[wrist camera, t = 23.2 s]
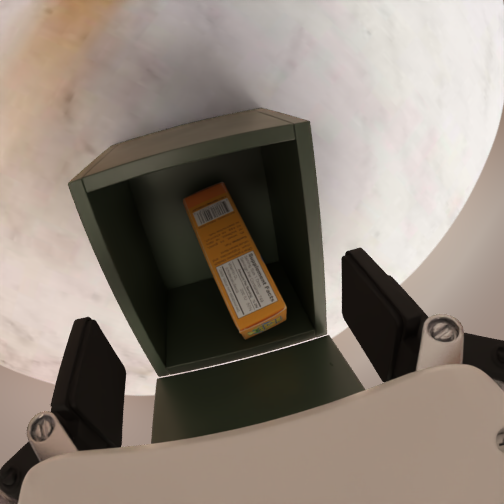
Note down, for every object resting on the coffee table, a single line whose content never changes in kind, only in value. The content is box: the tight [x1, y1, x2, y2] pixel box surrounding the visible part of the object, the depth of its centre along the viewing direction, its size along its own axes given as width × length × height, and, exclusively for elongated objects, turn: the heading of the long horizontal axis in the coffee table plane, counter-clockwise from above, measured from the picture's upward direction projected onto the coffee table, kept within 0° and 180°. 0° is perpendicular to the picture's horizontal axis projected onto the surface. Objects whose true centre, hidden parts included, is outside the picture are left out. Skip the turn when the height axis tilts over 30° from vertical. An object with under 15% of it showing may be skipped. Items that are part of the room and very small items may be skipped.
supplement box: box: [183, 182, 287, 340], centre depth 21 cm, size 3×4×10 cm
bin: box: [68, 108, 327, 377], centre depth 21 cm, size 14×12×10 cm
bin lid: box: [151, 335, 365, 444], centre depth 14 cm, size 14×12×5 cm
